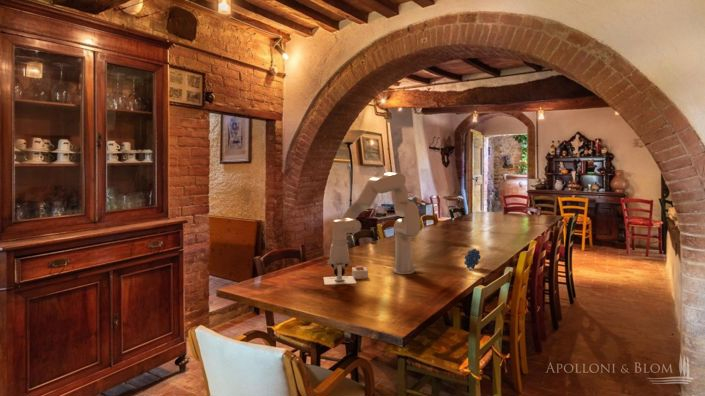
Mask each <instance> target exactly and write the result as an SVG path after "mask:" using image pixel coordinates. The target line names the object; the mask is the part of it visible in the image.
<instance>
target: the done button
mask: <svg viewBox="0 0 705 396" xmlns="http://www.w3.org/2000/svg"><path fill="white" fill-rule="evenodd" d="M355 267H356V270H363V267H364V266H363V265H356V266H355Z"/></svg>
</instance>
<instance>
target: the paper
mask: <svg viewBox="0 0 705 396" xmlns="http://www.w3.org/2000/svg"><path fill="white" fill-rule="evenodd" d="M323 283H324V286H328V285H329V286H330V285H331V286H334V285H354V284H357V281H356V279H354V278H353V276H352V275H344V276H342V279H337V276H323Z"/></svg>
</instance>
